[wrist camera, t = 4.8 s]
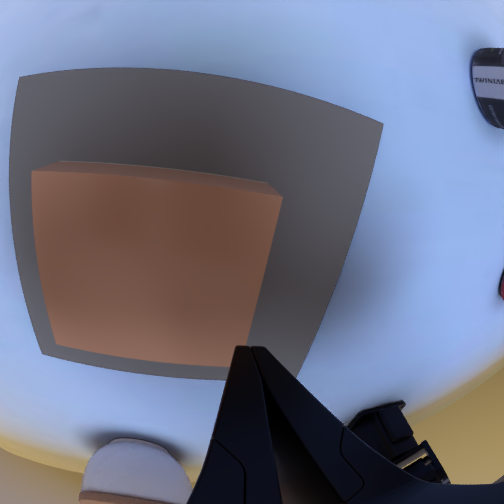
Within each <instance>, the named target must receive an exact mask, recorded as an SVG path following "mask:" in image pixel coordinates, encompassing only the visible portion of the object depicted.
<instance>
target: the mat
mask: <svg viewBox="0 0 504 504" xmlns="http://www.w3.org/2000/svg"><path fill="white" fill-rule="evenodd" d="M382 129H383V123H381V122H378V121H376V120H374V119H371V118H369V117H366V116H364V115H361V114H359V113H356V112H354V111H351V110H348V109H346V108H343V107H340V106H337V105H334V104H331V103H329V102H326V101H322V100H319V99H316V98H313V97H310V96H306V95H303V94H300V93H296V92H293V91H289V90H285V89H281V88H277V87H273V86H269V85H265V84H261V83H256V82H251V81H247V80H241V79H236V78H231V77H225V76H219V75H212V74H205V73H198V72H189V71H180V70H168V69H153V68H89V69H75V70H64V71H55V72H47V73H40V74H34V75H28V76H23V77H19V81H18V86H17V91H16V97H15V103H14V110H13V118H12V127H11V138H10V156H9V193H10V211H11V223H12V232H13V240H14V247H15V254H16V260H17V265H18V271H19V276H20V280H21V285H22V289H23V294H24V298H25V302H26V305H27V309H28V313H29V316H30V319H31V323H32V326H33V329H34V332H35V335H36V338H37V341H38V344H39V347H40V350H41V352H42V354H44V355H48V356H51V357H55V358H59V359H63V360H68V361H72V362H76V363H81V364H86V365H91V366H96V367H101V368H107V369H112V370H119V371H125V372H132V373H139V374H147V375H155V376H165V377H175V378H188V379H203V380H227V376H228V372H229V368H230V367H218V366H200V365H186V364H175V363H164V362H155V361H147V360H139V359H132V358H125V357H118V356H112V355H106V354H100V353H95V352H90V351H85V350H80V349H75V348H70V347H66V346H62V345H57V344H56V342H55V338H54V335H53V332H52V328H51V324H50V321H49V317H48V313H47V309H46V304H45V300H44V295H43V291H42V286H41V280H40V275H39V269H38V262H37V255H36V248H35V239H34V229H33V215H32V189H31V175H32V171H33V170H36V169H38V168H41V167H44V166H46V165H49V164H52V163H55V162H58V161H82V162H101V163H117V164H129V165H141V166H152V167H161V168H171V169H179V170H187V171H195V172H203V173H210V174H217V175H224V176H230V177H237V178H243V179H249V180H255V181H261V182H266V183H268V184H269V185H270V186H272V187H273V188H274V189H275V190H276V191H277V192H278V193H279V194H280V195H281V196H282V197H283V199H282V203H281V207H280V211H279V216H278V220H277V224H276V228H275V232H274V236H273V240H272V244H271V248H270V252H269V257H268V261H267V265H266V269H265V273H264V277H263V281H262V285H261V288H260V292H259V296H258V300H257V304H256V308H255V312H254V316H253V320H252V324H251V327H250V331H249V335H248V339H247V343H246V346H249V347H251V346H264V347H266V348H267V349H268V350H269V351H270V352H271V353H272V355H273V356H274V357H275V358H276V359H277V360H278V361H279V362H280V363H281V364H282V365H283V366H284V367H285V368H286V369H287V370H288V371H289V372H290V373H291V374H292V375H293V376H294V377H295V378H297V375H298V373H299V371H300V369H301V367H302V365H303V363H304V360H305V358H306V356H307V354H308V352H309V349H310V347H311V345H312V343H313V340H314V338H315V336H316V333H317V331H318V329H319V326H320V324H321V321H322V319H323V317H324V314H325V312H326V309H327V307H328V304H329V302H330V299H331V297H332V294H333V291H334V289H335V286H336V283H337V281H338V278H339V275H340V273H341V270H342V267H343V264H344V261H345V259H346V256H347V253H348V250H349V247H350V244H351V241H352V238H353V235H354V232H355V229H356V226H357V222H358V219H359V216H360V213H361V209H362V206H363V203H364V199H365V196H366V192H367V189H368V185H369V182H370V178H371V174H372V171H373V167H374V163H375V159H376V155H377V151H378V147H379V142H380V138H381V134H382Z"/></svg>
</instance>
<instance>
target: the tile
mask: <svg viewBox="0 0 504 504" xmlns="http://www.w3.org/2000/svg"><path fill="white" fill-rule="evenodd" d="M31 189H32V215H33V229H34V239H35V248H36V255H37V262H38V269H39V275H40V280H41V286H42V291H43V295H44V300H45V304H46V309H47V313H48V317H49V321H50V324H51V328H52V332H53V335H54V338H55V342H56V344H57V345H62V346H66V347H70V348H75V349H80V350H85V351H90V352H95V353H100V354H106V355H112V356H118V357H125V358H132V359H139V360H147V361H155V362H164V363H175V364H186V365H200V366H218V367H230V364H231V360H232V356H233V353H234V349H235V346H236V345H246V343H247V339H248V335H249V331H250V327H251V324H252V320H253V316H254V312H255V308H256V304H257V300H258V296H259V292H260V288H261V285H262V281H263V277H264V273H265V269H266V265H267V261H268V257H269V252H270V248H271V244H272V240H273V236H274V232H275V228H276V224H277V220H278V216H279V211H280V207H281V203H282V199H283V197H282V196H281V195H280V194H279V193H278V192H277V191H276V190H275V189H274V188H273V187H272V186H270V185H269V184H268V183H266V182H261V181H255V180H249V179H243V178H237V177H230V176H224V175H217V174H210V173H203V172H195V171H187V170H179V169H171V168H161V167H152V166H141V165H129V164H117V163H101V162H82V161H58V162H55V163H52V164H49V165H46V166H44V167H41V168H38V169H36V170H33V171H32V175H31Z"/></svg>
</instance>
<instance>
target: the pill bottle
mask: <svg viewBox="0 0 504 504" xmlns="http://www.w3.org/2000/svg"><path fill="white" fill-rule="evenodd" d="M472 75H473V84H474V89H475V93H476V97H477V100H478V103H479V105H480V108H481V110H482V112H483V114H484V115H485V117H486V118H487V120H488V121H489V122H490V123H491V124H492V125H494V126H495V127H497V128H502V129H504V48H483V49H480V50H479V51H477V53H476V54H475V56H474V60H473V65H472Z"/></svg>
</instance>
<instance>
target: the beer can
mask: <svg viewBox="0 0 504 504" xmlns="http://www.w3.org/2000/svg"><path fill="white" fill-rule="evenodd" d="M500 290H501V297H502V298H503V300H504V275H503V278H502V281H501V287H500Z"/></svg>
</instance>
